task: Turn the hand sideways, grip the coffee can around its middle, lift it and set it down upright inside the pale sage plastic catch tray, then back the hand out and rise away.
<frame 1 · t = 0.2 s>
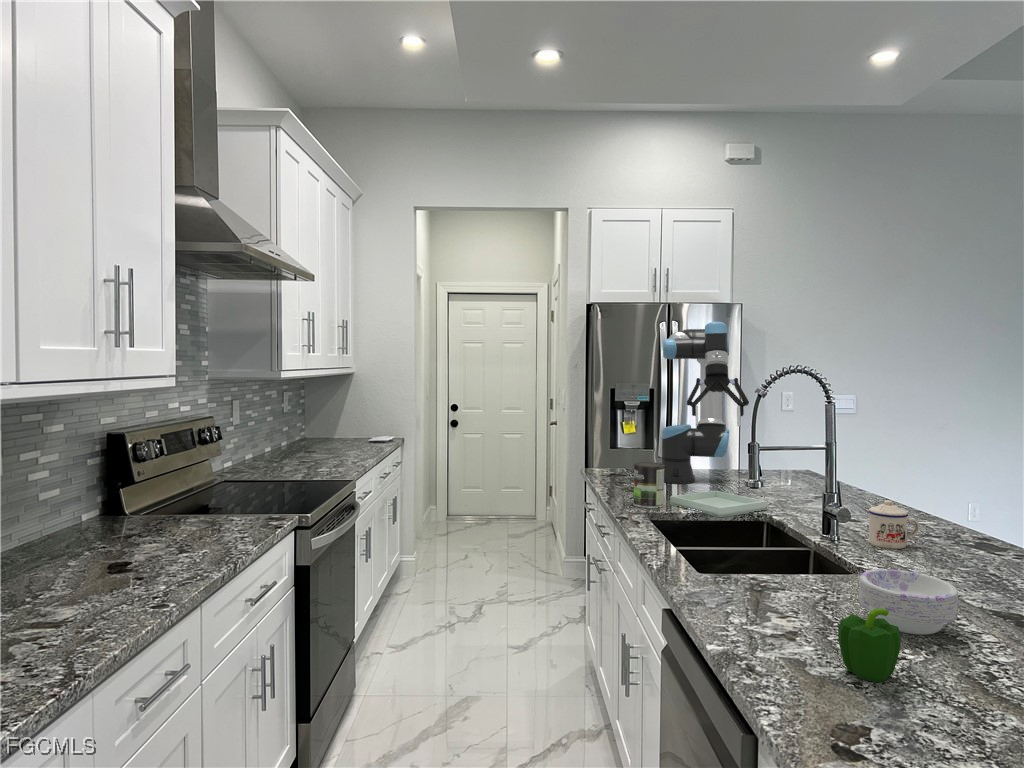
hand: (717, 425, 220), 27 cm above the worktop, tool tilted 15°, fingers open, 13 cm apart
catch tray: (717, 507, 218), on the worktop
coffee can: (648, 506, 221), on the worktop
bell pepper: (868, 676, 98), on the worktop
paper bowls: (906, 626, 117), on the worktop
teacup with lid: (893, 545, 171), on the worktop
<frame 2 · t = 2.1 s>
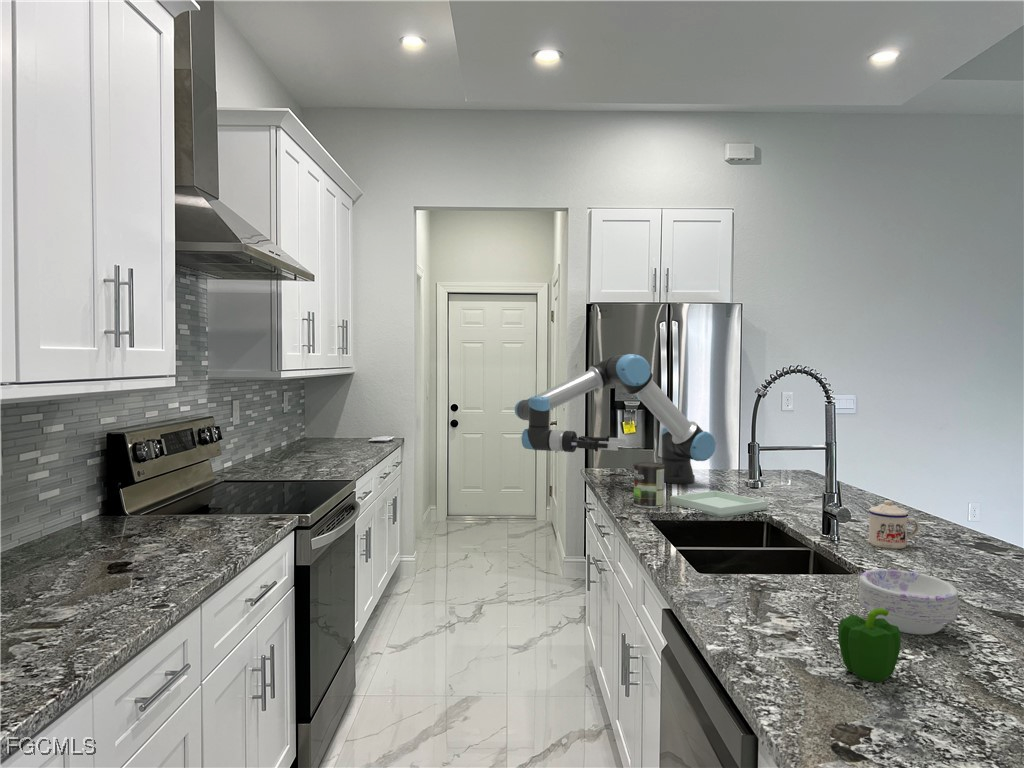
hand: (622, 444, 224), 20 cm above the worktop, tool horizontal, fingers open, 13 cm apart
nothing on the worktop moved.
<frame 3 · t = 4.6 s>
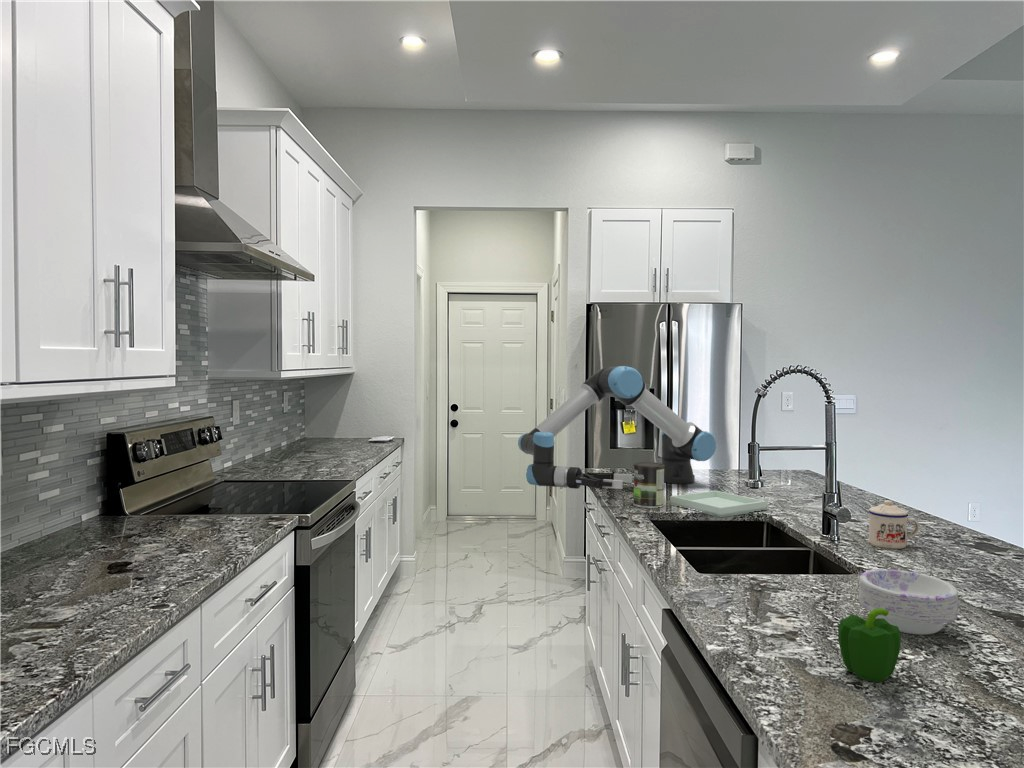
hand: (627, 481, 223), 8 cm above the worktop, tool horizontal, fingers open, 13 cm apart
nothing on the worktop moved.
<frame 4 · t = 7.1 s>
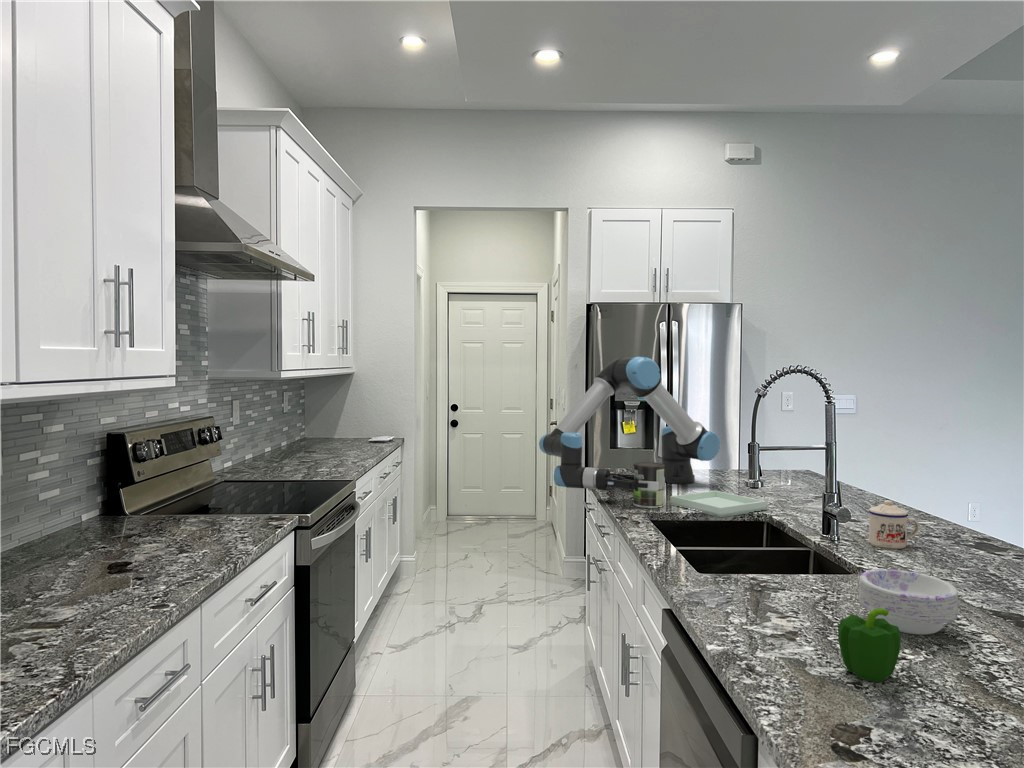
hand: (661, 483, 219), 8 cm above the worktop, tool horizontal, fingers closed on coffee can, 10 cm apart
coffee can: (648, 505, 221), on the worktop, touching gripper
everything else where it was.
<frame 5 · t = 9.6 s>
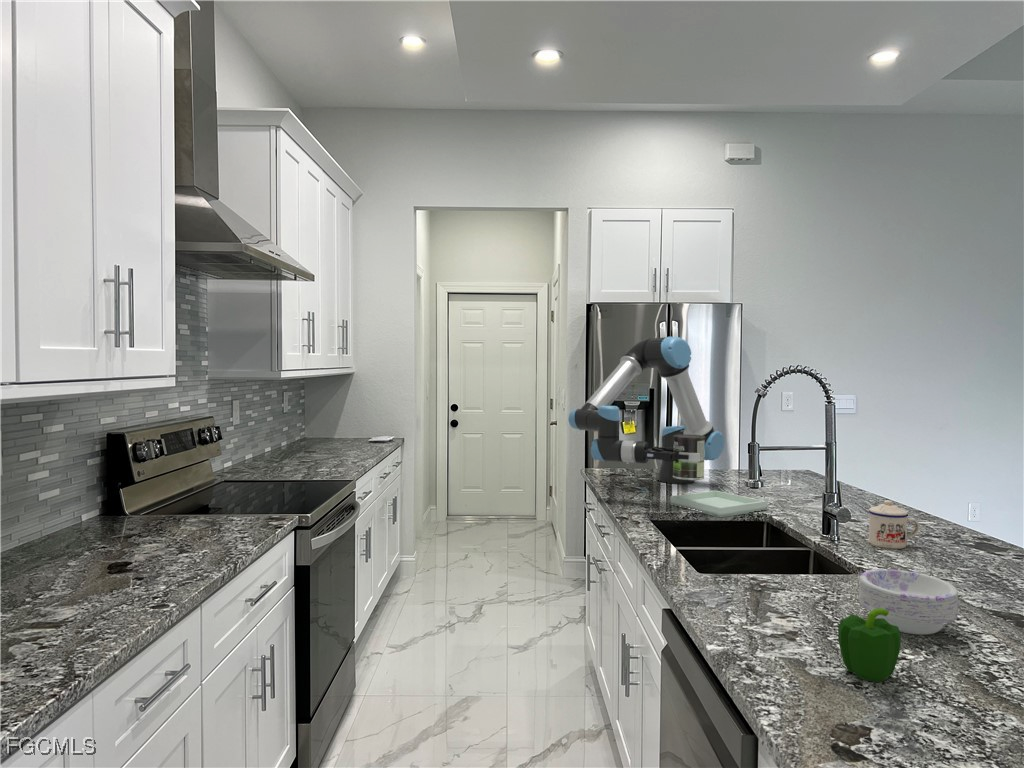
hand: (702, 455, 215), 18 cm above the worktop, tool horizontal, fingers closed on coffee can, 10 cm apart
coffee can: (688, 478, 217), point 10 cm above the worktop, touching gripper
everything else where it was.
when the fingers open (10 cm above the worktop, at t = 12.2 s): coffee can drops 1 cm, resting on catch tray.
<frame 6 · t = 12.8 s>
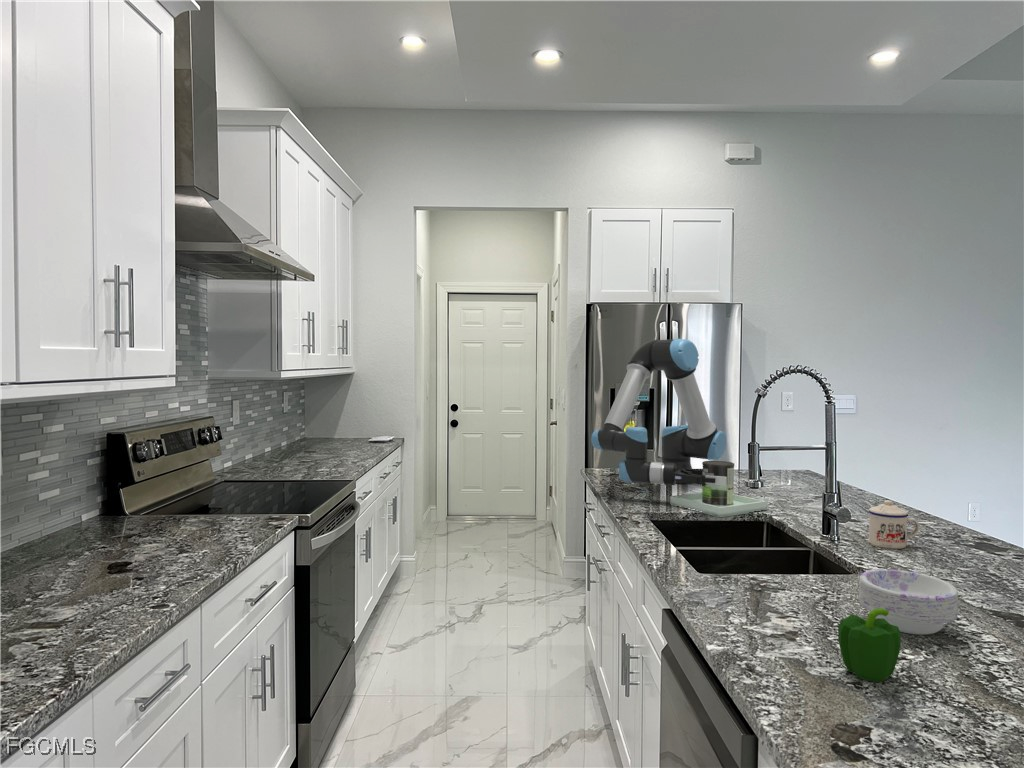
hand: (728, 477, 216), 10 cm above the worktop, tool horizontal, fingers open, 13 cm apart
coffee can: (717, 505, 218), point 1 cm above the worktop, touching catch tray
everything else where it was.
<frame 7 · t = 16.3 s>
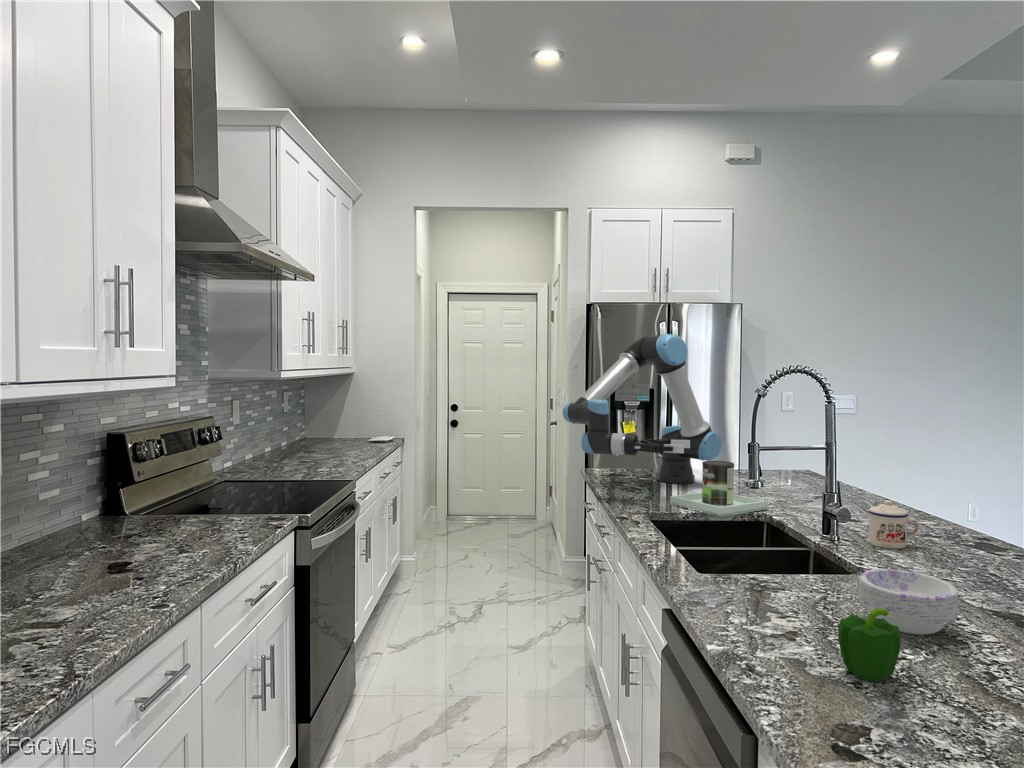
hand: (687, 446, 221), 20 cm above the worktop, tool horizontal, fingers open, 13 cm apart
nothing on the worktop moved.
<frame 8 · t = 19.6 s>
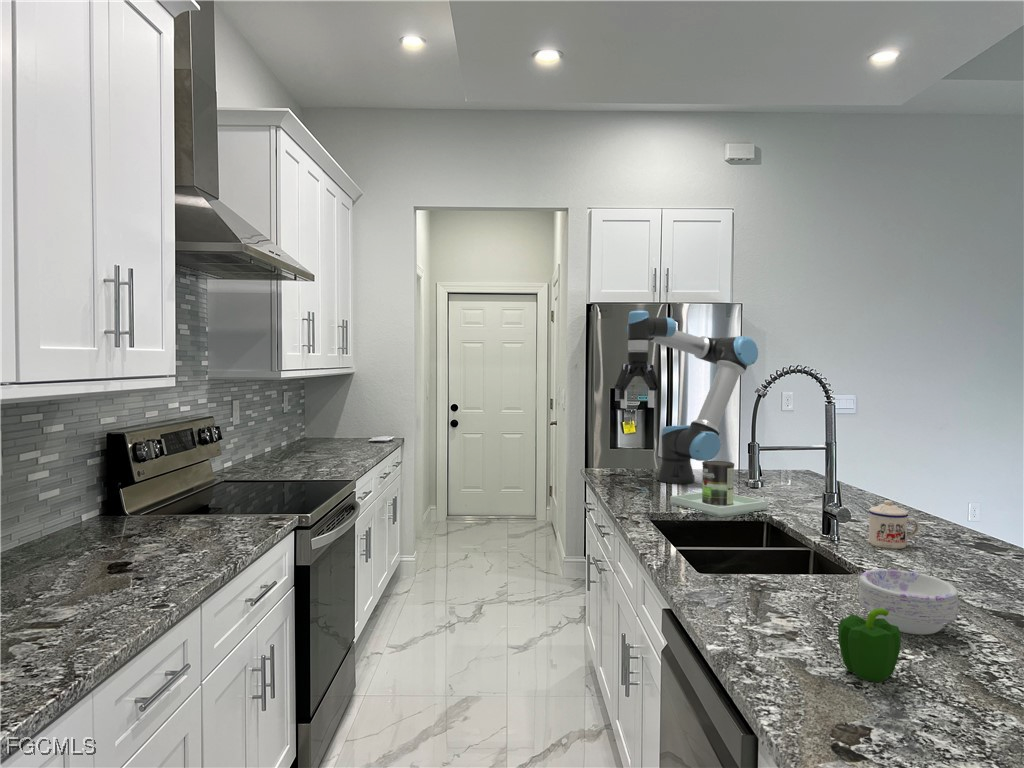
hand: (637, 407, 246), 32 cm above the worktop, tool pointing down, fingers open, 13 cm apart
nothing on the worktop moved.
at the end: coffee can inside the target area on the catch tray (0.0 cm from its centre), point 0.8 cm above the catch tray's base; coffee can tilted 0°; the gripper is holding nothing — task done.
